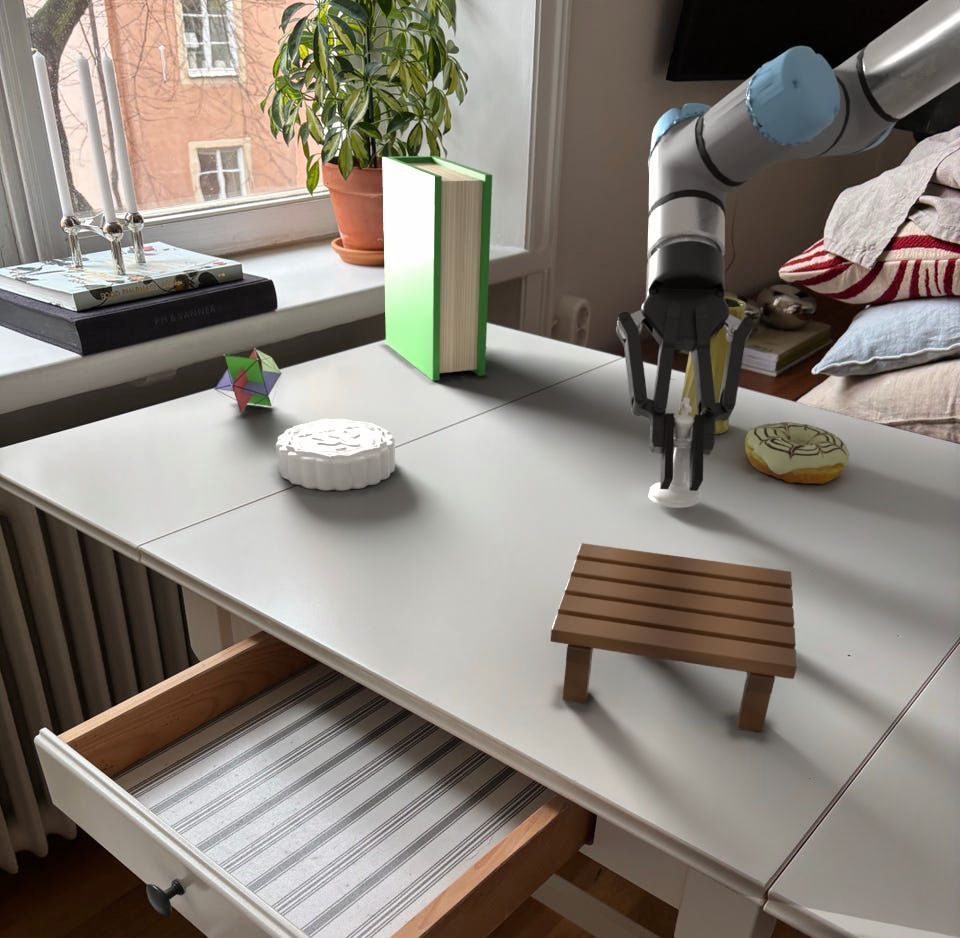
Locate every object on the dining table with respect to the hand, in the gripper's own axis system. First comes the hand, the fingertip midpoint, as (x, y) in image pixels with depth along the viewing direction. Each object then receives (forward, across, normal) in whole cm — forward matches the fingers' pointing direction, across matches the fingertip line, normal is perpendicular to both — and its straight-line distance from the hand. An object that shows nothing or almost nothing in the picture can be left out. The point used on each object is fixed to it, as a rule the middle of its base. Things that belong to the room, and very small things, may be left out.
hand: (681, 484), depth 92 cm
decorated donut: (-8, -14, -13) cm, 21 cm away
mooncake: (-3, +34, -8) cm, 35 cm away
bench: (+20, +3, +15) cm, 25 cm away
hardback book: (-31, +28, -36) cm, 55 cm away
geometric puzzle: (-15, +47, -20) cm, 53 cm away
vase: (-16, -6, -21) cm, 27 cm away
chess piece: (0, 0, -5) cm, 5 cm away
